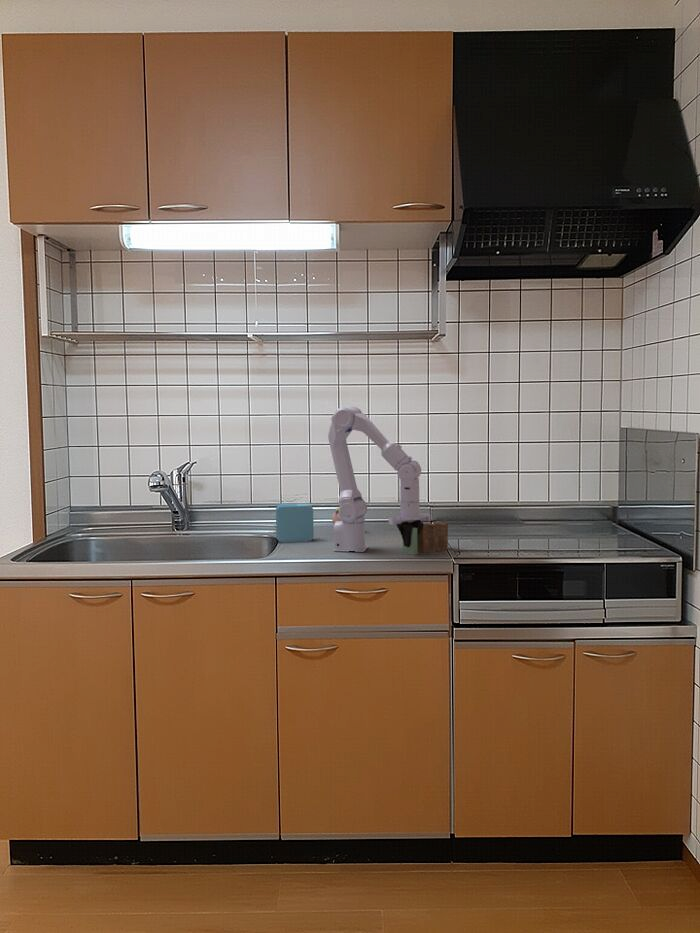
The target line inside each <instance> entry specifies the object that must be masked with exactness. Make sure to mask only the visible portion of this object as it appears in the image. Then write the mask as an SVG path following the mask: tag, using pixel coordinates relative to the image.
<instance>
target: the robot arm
mask: <svg viewBox="0 0 700 933" xmlns="http://www.w3.org/2000/svg"><path fill="white" fill-rule="evenodd" d="M330 419H331V423H330V425H329V426H330V427H329V431H328V434H327V438H328V439H327V440H328V444H329V447H330V452H331V455H332V456H331V458H332V461H333V465H334V469H335V473H336V479H337V482H338V483H337V484H338V488H339V490H340V493H339V496H338V503H339V506H338V508H339V516H340V518H341V520H342V521H336V522H335V525H334V524H333V525H334V526H333V551H334V552H349V551H355V552H356V553H364V552H365V551H366V550H367V549H368V548H369V546H368V545H366V523H365V522H366V521H365V520H366V519H365V516H366V514H367V512H368V505H367V502H366V501H365V499H364V498H363V495H362V493H361V491H360V490H359V489H358V485H357V482H356V477H355V473H354V468H353V463H352V459H351V455H350V451H349V447H348V446H349V445H348V442H347V439H348V438H349V436H350V435H351V433H352V431H357V432H362V433H363V434H365V436H366V437H367V438H369V440H371V441H372V442H373V443H374V444H375V446H377V447H378V448H379V449H380V450H381V451H380V452H381V453H380V455H381V457H382V458H383V460H385V461H386V463H388V464H389V465H390V466H391V467H392V469H394V470H395V472H396V474H397V477H398V478H399V480H400V486H399V489H400V491H399V493H400V494H399V495H400V496H399V497H400V500H399V501H400V502H399V504H400V505H399V506H400V507H399V509H400V510H399V511H400V515H397V516H396V515H395V516H392V517H388V525H390V526H391V525H392V526H395V525H396V527H397V529H398V531H399V533H400V536H401V539H402V543H403V542H404V546H406V547H410V544H411V531H412V527H415V528H417V539H418V535H419V533H420V531H421V529H422V527H423V524H424V521H431V513H428V512H426V513H420V476H421V475H422V468H421V465H420V464H419V462H418V461H417V460H413V457H412V456H409V455H408V454H407V453H406V452H405V451H404V450H403V449H402V447H403V446H402V445H401V444H400V443H399V444H398V443H396V442H395V441H394V442H393V441H392V442H390V441H389V440H388V439H387V438H386V437H385V435H384V434H383V433H382V432H381V431H380V430H379V428H378V427H377V426H376V425H375V424H374V423H373V421H372V420H370V418H369V417H368V416H367V414H366V413H363V412H362V409H360V408H358V407H356V406H350V407H339V408H338V409H337V410H336V411H335V412H334V414H333V415H332V416H331V417H330ZM422 521H423V522H422Z"/></svg>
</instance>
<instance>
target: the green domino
mask: <svg viewBox="0 0 700 933" xmlns="http://www.w3.org/2000/svg"><path fill="white" fill-rule="evenodd" d="M402 553H404V554H407V553H408V554H409V555H412V556H416V555H418V552H417V528H415V527H412V531H411V544H410V547H406V546H404V542H403V541H402Z"/></svg>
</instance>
